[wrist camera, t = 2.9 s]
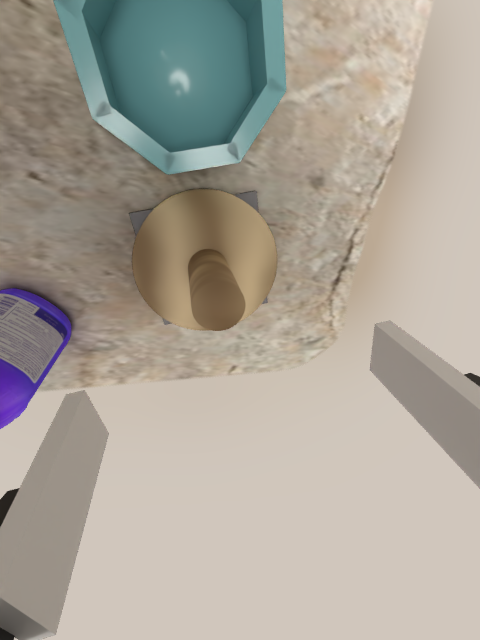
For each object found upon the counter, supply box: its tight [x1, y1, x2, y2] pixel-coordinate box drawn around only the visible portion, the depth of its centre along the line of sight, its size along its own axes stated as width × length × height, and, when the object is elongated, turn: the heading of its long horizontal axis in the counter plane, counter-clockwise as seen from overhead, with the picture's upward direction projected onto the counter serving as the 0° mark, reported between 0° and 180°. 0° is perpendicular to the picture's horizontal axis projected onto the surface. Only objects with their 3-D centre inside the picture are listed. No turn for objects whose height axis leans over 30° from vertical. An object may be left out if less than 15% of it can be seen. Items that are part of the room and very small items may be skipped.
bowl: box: [54, 0, 286, 175], centre depth 18 cm, size 12×12×5 cm
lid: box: [132, 189, 277, 331], centre depth 23 cm, size 13×13×10 cm
